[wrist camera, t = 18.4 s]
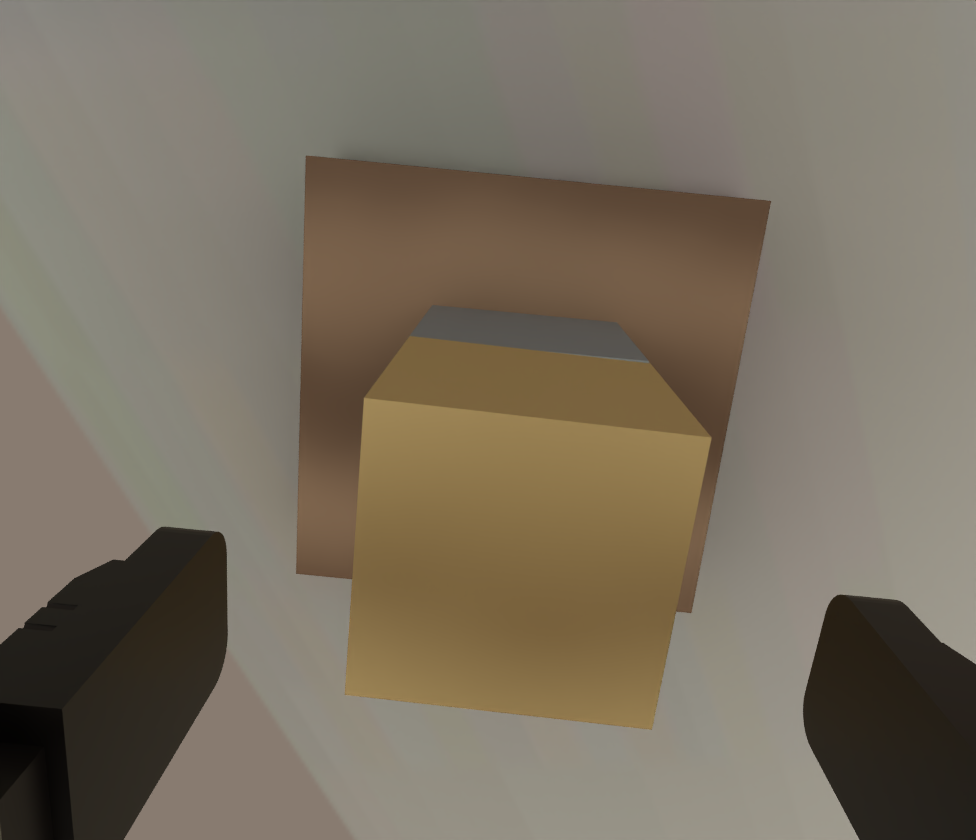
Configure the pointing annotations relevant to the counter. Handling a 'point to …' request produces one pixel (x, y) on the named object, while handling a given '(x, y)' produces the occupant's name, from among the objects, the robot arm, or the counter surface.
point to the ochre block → (521, 532)
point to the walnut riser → (506, 301)
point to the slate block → (529, 332)
